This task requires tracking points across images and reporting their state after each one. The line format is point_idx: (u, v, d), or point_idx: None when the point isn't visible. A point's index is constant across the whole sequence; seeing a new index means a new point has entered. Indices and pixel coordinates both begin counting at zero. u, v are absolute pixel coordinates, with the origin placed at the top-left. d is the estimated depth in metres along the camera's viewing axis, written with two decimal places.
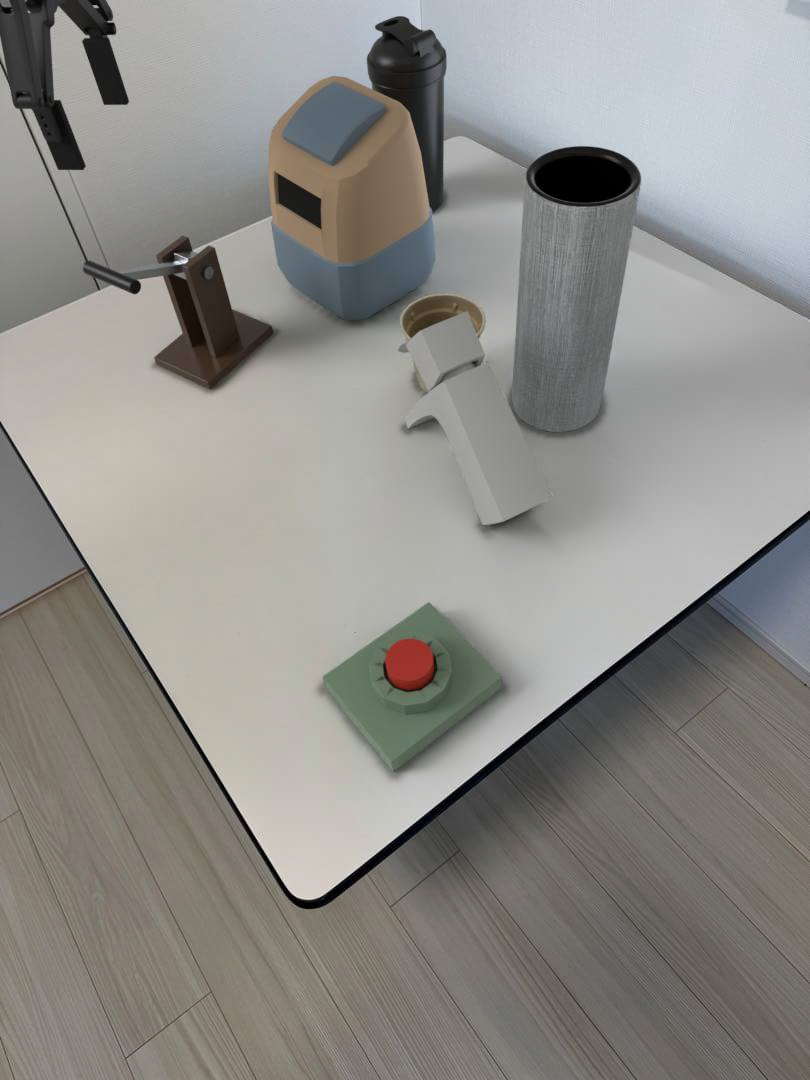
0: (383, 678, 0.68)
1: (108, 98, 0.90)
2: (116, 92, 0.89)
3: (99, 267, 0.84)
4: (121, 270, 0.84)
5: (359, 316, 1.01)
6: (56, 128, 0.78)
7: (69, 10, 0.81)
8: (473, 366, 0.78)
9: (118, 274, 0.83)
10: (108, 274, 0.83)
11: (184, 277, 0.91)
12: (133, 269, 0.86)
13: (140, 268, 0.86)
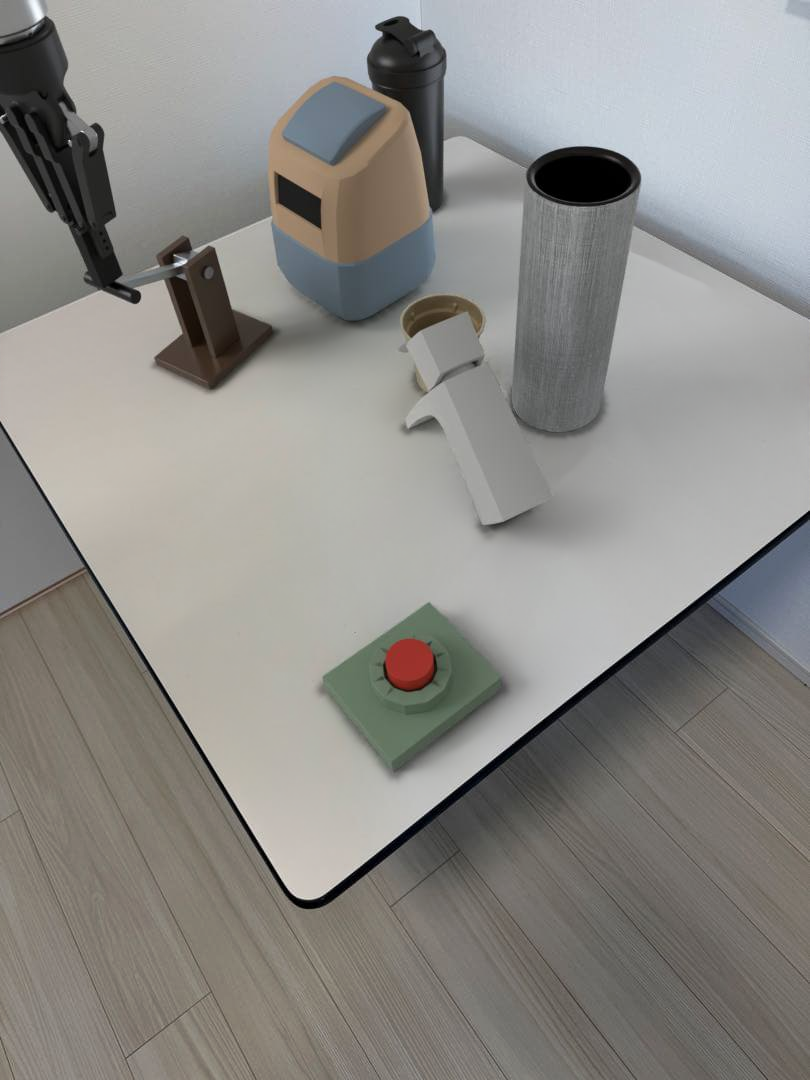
0: (383, 678, 0.68)
1: None
2: None
3: None
4: (121, 279, 0.85)
5: (359, 316, 1.01)
6: None
7: (55, 172, 0.74)
8: (473, 366, 0.78)
9: (118, 284, 0.83)
10: None
11: (185, 278, 0.92)
12: (133, 276, 0.86)
13: (140, 275, 0.87)
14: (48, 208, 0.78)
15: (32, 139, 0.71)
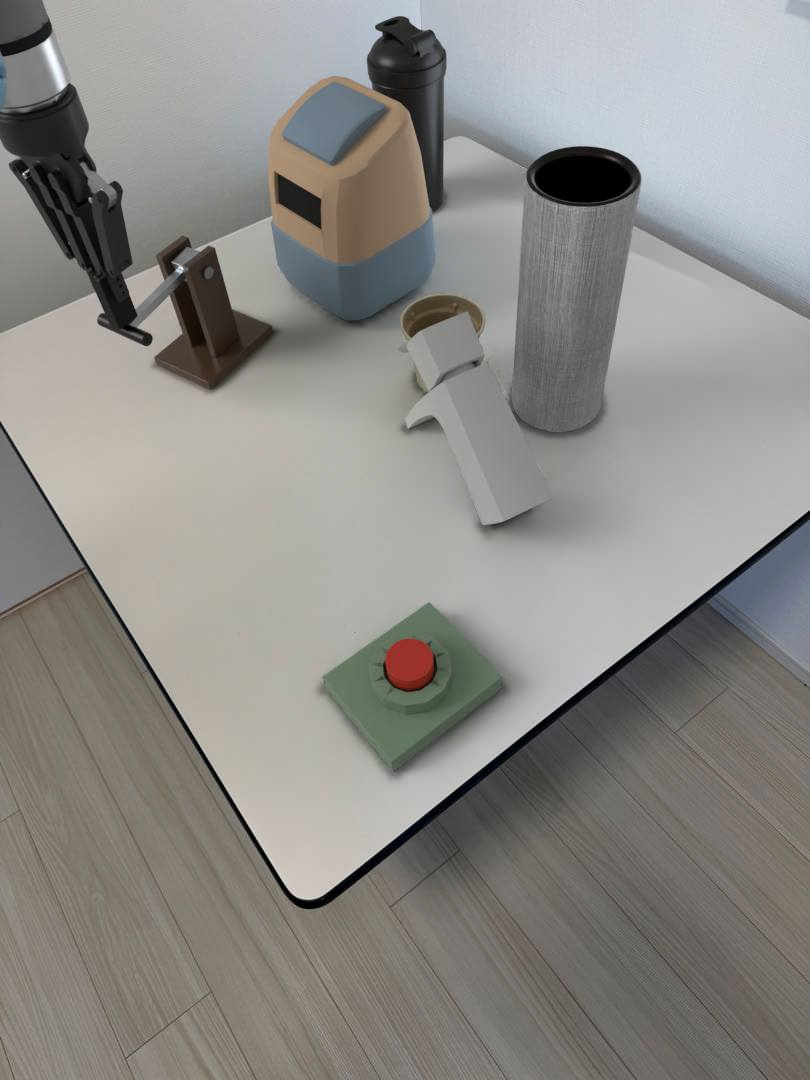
0: (383, 678, 0.68)
1: None
2: None
3: None
4: None
5: (359, 316, 1.01)
6: None
7: (74, 223, 0.78)
8: (473, 366, 0.78)
9: (128, 330, 0.87)
10: (120, 330, 0.88)
11: None
12: (140, 309, 0.89)
13: (146, 304, 0.89)
14: (67, 255, 0.82)
15: (54, 194, 0.75)
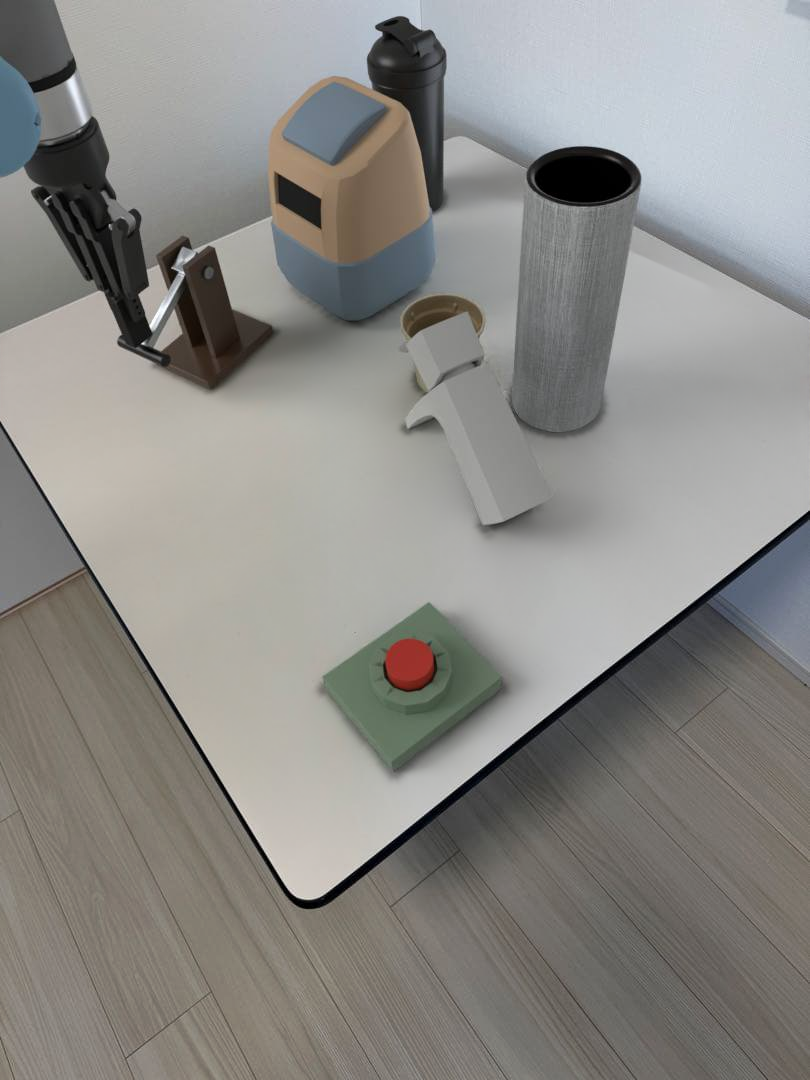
0: (383, 678, 0.68)
1: None
2: None
3: (130, 347, 0.92)
4: None
5: (359, 316, 1.01)
6: None
7: (94, 248, 0.81)
8: (473, 366, 0.78)
9: (147, 353, 0.91)
10: (140, 354, 0.91)
11: None
12: (153, 327, 0.91)
13: (157, 320, 0.91)
14: (86, 278, 0.85)
15: (74, 220, 0.78)
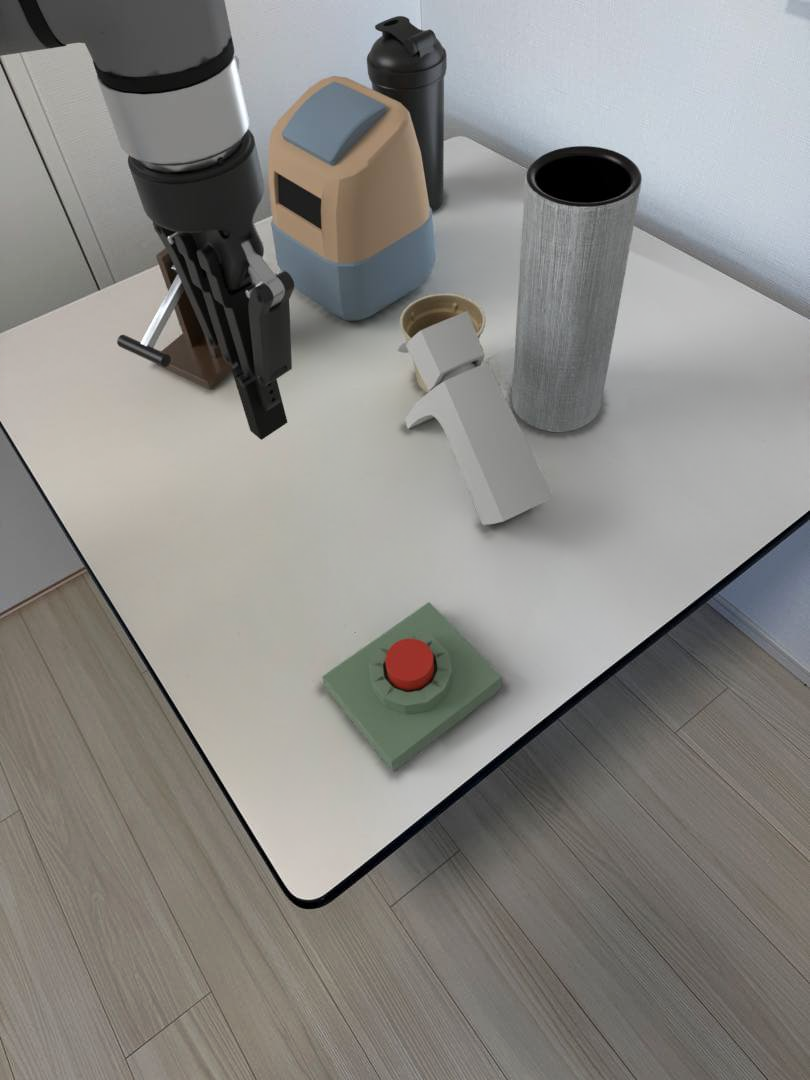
0: (383, 678, 0.68)
1: None
2: None
3: (130, 347, 0.92)
4: (146, 339, 0.91)
5: (359, 316, 1.01)
6: None
7: (225, 309, 0.57)
8: (473, 366, 0.78)
9: (147, 353, 0.91)
10: (140, 354, 0.91)
11: None
12: (153, 327, 0.91)
13: (157, 320, 0.91)
14: (210, 343, 0.61)
15: (203, 272, 0.54)
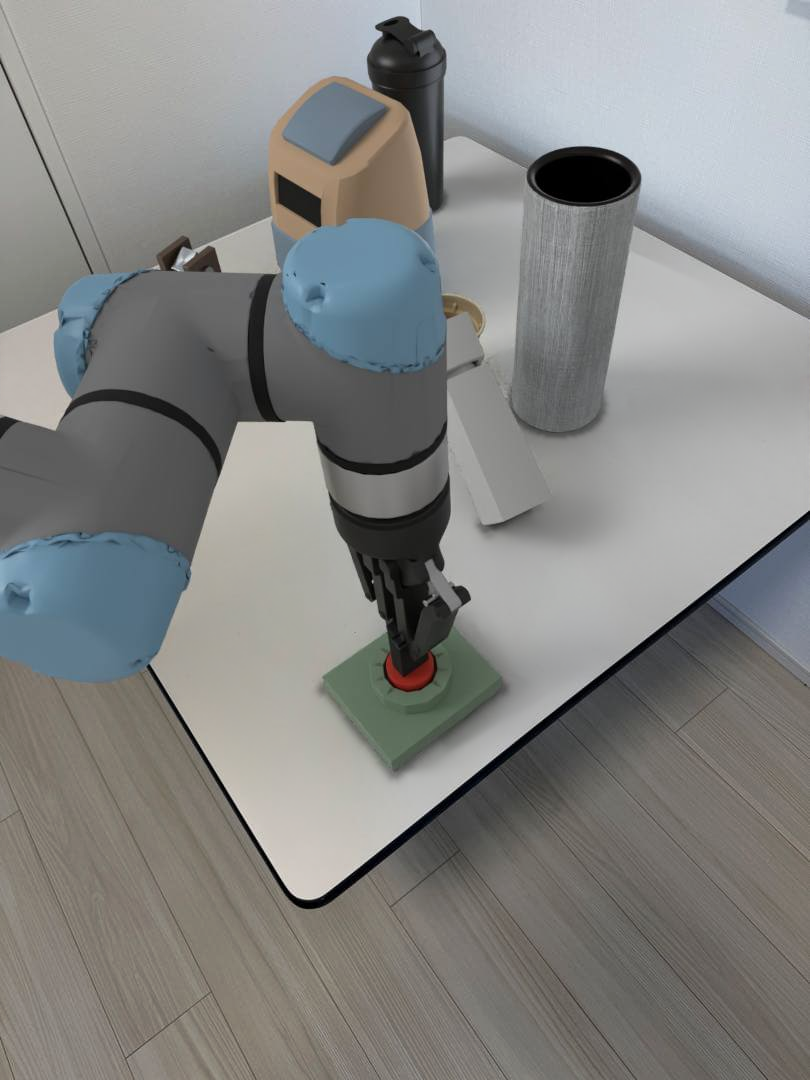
0: (383, 678, 0.68)
1: None
2: None
3: None
4: None
5: None
6: None
7: None
8: (473, 366, 0.78)
9: None
10: None
11: None
12: None
13: None
14: (368, 598, 0.63)
15: (377, 562, 0.56)
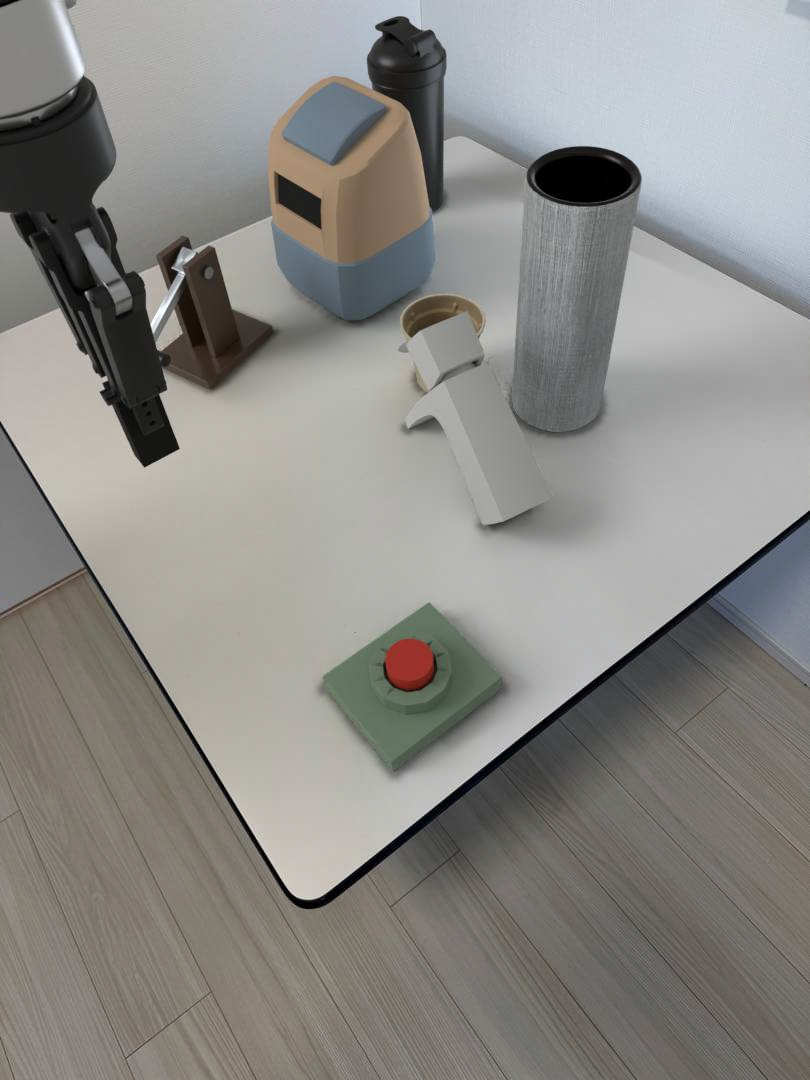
0: (383, 678, 0.68)
1: None
2: None
3: None
4: None
5: (359, 316, 1.01)
6: None
7: None
8: (473, 366, 0.78)
9: None
10: None
11: None
12: (153, 327, 0.91)
13: (157, 320, 0.91)
14: (80, 349, 0.50)
15: None
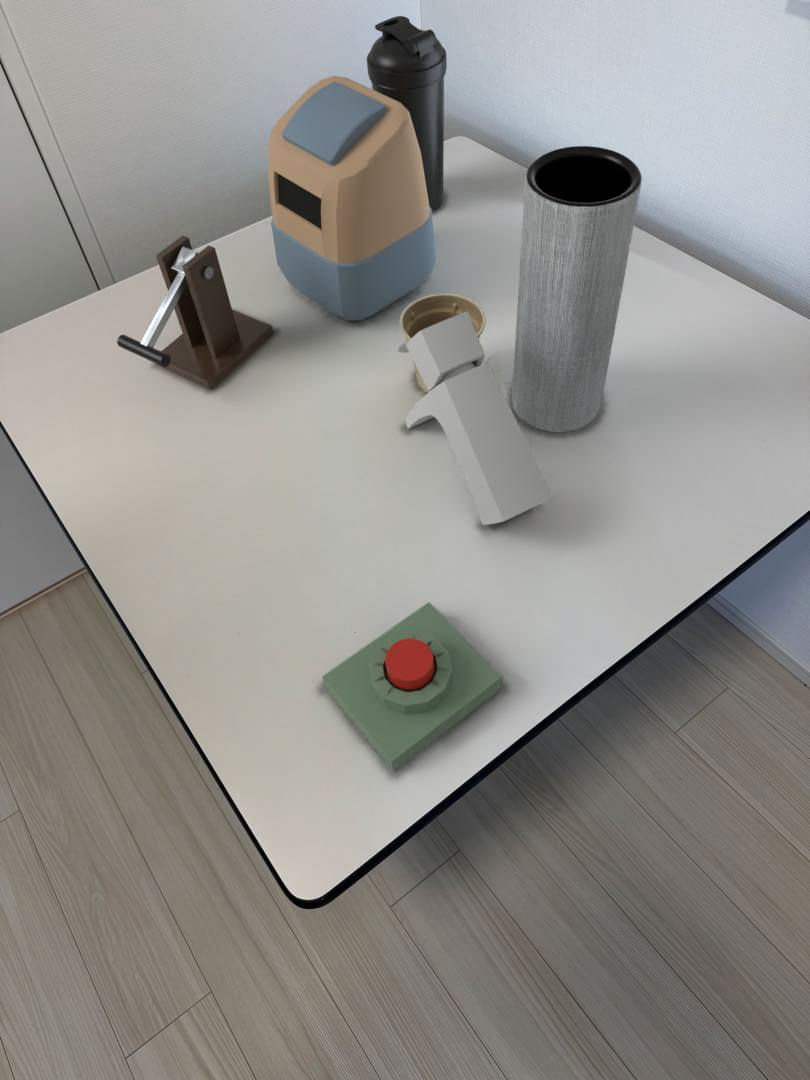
0: (383, 678, 0.68)
1: None
2: None
3: (130, 347, 0.92)
4: (146, 339, 0.91)
5: (359, 316, 1.01)
6: None
7: None
8: (473, 366, 0.78)
9: (147, 353, 0.91)
10: (140, 354, 0.91)
11: None
12: (153, 327, 0.91)
13: (157, 320, 0.91)
14: None
15: None
